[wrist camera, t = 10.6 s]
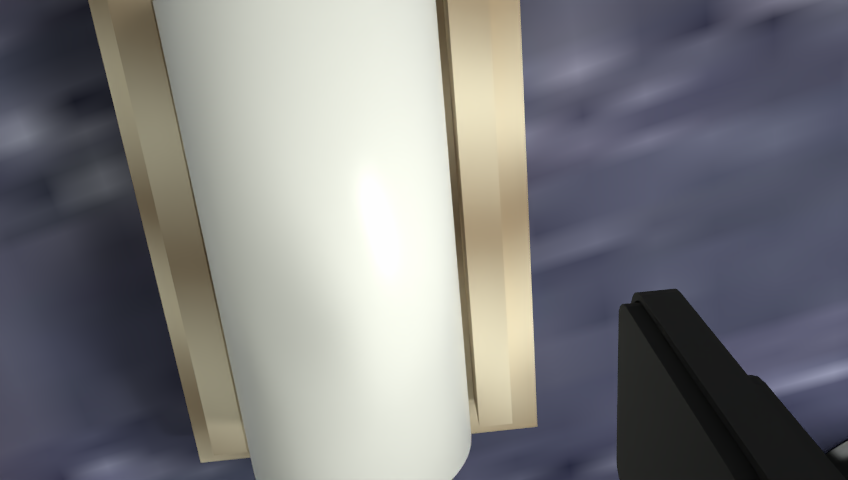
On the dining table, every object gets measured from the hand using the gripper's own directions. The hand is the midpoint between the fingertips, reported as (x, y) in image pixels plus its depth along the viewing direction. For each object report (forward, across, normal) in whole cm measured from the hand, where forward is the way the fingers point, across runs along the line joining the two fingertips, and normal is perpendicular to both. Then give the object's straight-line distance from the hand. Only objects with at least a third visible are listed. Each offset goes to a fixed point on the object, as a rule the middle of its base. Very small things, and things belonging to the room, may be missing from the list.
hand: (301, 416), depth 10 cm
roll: (+11, 0, +1) cm, 11 cm away
